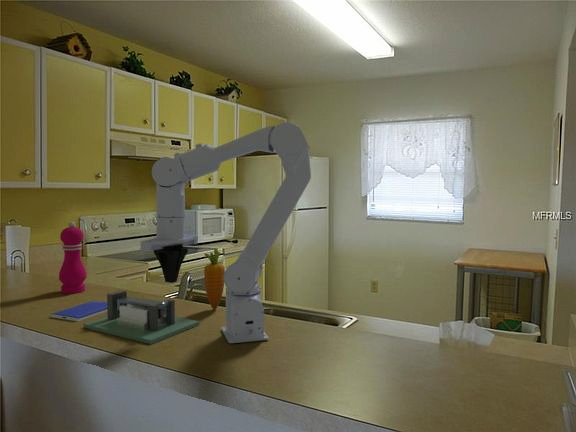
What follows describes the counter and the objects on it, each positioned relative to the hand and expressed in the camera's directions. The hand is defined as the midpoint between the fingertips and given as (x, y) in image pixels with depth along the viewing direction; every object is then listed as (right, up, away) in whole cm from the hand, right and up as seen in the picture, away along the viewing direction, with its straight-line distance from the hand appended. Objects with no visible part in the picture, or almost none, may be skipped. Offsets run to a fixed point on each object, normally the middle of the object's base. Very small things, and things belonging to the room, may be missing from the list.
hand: (171, 281), depth 93 cm
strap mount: (-8, -9, +4) cm, 13 cm away
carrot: (+6, -10, +17) cm, 21 cm away
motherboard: (-7, -10, +4) cm, 13 cm away
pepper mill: (-37, -8, +35) cm, 52 cm away
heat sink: (-6, -9, +3) cm, 12 cm away
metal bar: (-7, -7, +3) cm, 10 cm away
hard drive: (-24, -10, +14) cm, 30 cm away
